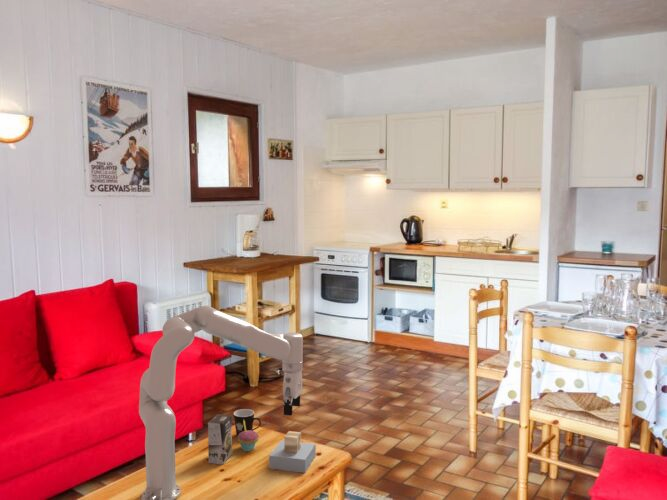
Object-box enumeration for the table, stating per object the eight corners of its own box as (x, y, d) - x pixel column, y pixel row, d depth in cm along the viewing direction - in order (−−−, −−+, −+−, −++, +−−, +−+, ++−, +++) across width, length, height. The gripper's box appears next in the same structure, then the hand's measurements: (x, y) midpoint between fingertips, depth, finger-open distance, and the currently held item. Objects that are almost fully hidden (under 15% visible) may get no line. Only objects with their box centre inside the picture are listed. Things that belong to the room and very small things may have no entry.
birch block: (297, 453, 220) (297, 437, 220) (284, 451, 222) (284, 436, 221) (301, 447, 225) (301, 432, 225) (288, 446, 226) (288, 431, 226)
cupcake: (233, 451, 233) (233, 422, 232) (243, 442, 241) (242, 414, 240) (253, 454, 230) (253, 424, 229) (262, 445, 238) (262, 416, 237)
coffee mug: (230, 435, 248) (229, 412, 247) (247, 429, 254) (246, 407, 253) (245, 444, 239) (244, 420, 238) (262, 438, 245) (262, 415, 244)
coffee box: (224, 464, 222) (223, 423, 220) (208, 463, 223) (207, 422, 221) (232, 454, 231) (232, 414, 229) (217, 452, 232) (216, 413, 230)
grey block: (305, 472, 216) (305, 459, 215) (269, 468, 219) (269, 455, 218) (315, 456, 229) (315, 443, 229) (281, 452, 232) (281, 440, 232)
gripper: (295, 373, 211) (294, 419, 212) (308, 360, 227) (307, 403, 229) (275, 371, 213) (274, 417, 214) (290, 359, 229) (289, 401, 231)
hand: (292, 410), depth 222 cm, fingers open, 9 cm apart
